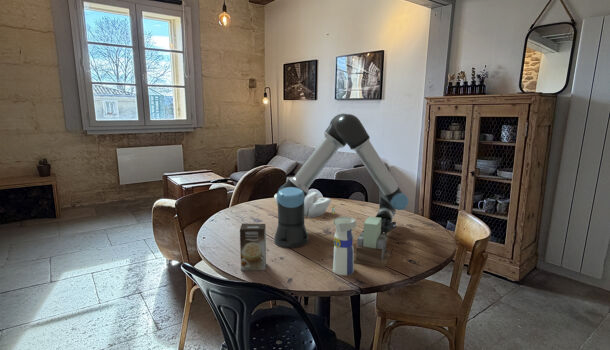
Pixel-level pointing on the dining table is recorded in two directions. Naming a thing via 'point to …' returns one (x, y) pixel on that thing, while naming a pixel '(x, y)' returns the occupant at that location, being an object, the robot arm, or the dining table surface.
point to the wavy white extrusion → (313, 205)
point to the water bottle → (343, 245)
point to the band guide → (372, 252)
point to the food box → (253, 246)
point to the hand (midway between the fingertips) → (375, 235)
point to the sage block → (371, 232)
